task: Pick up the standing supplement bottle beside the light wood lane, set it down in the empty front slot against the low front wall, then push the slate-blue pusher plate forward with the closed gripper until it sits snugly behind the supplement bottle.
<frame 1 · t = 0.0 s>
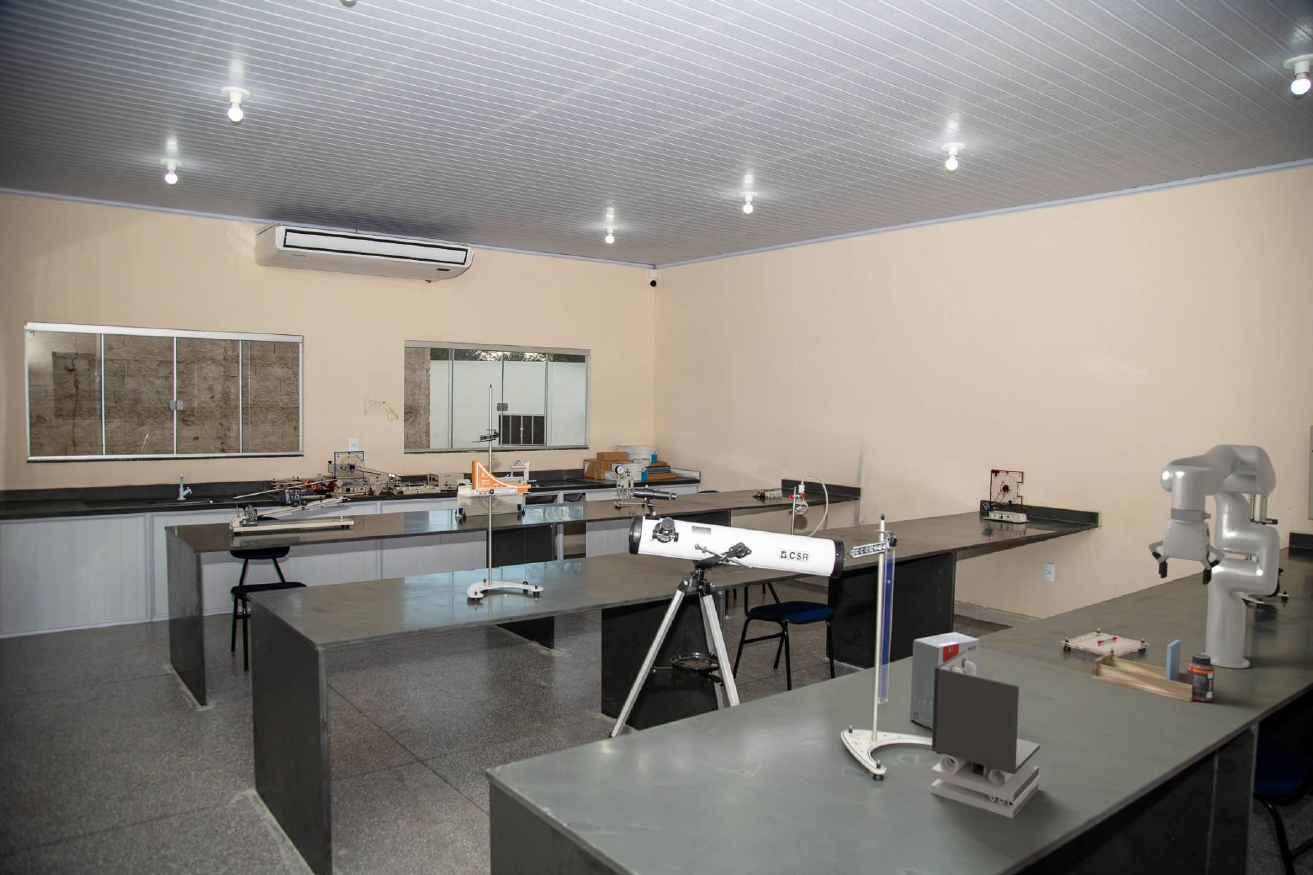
hand: (1184, 580, 220), 31 cm above the table, tool pointing down, fingers open, 9 cm apart
hard drive box: (942, 720, 204), on the table
lane tray: (1147, 684, 232), on the table
supplement bottle: (1199, 698, 221), on the table, touching lane tray
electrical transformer: (985, 791, 168), on the table
pusher plate: (1172, 664, 227), point 7 cm above the table, slide at 0.0 cm
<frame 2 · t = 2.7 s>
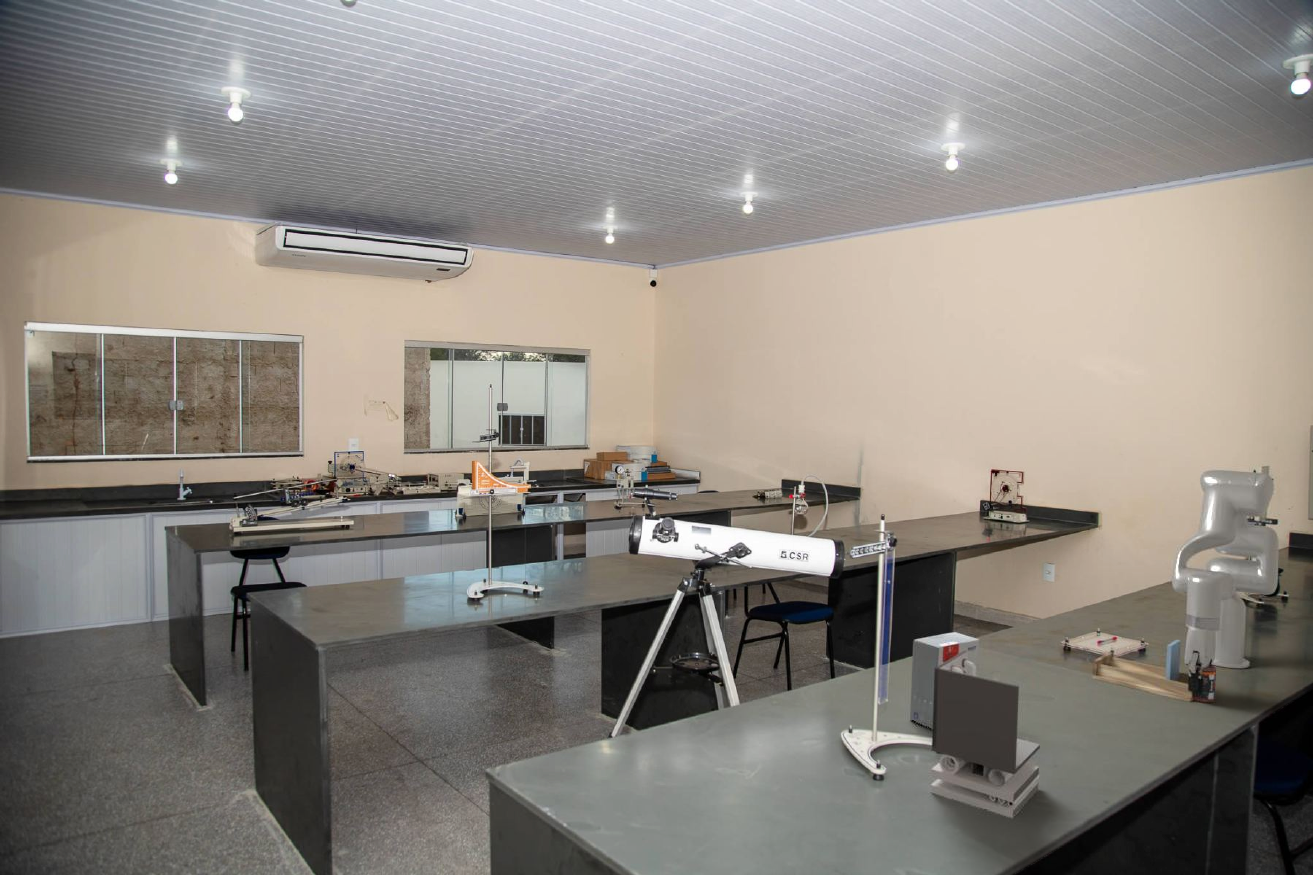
hand: (1199, 688, 221), 3 cm above the table, tool pointing down, fingers open, 7 cm apart
supplement bottle: (1201, 699, 221), on the table, touching lane tray
everything else where it was.
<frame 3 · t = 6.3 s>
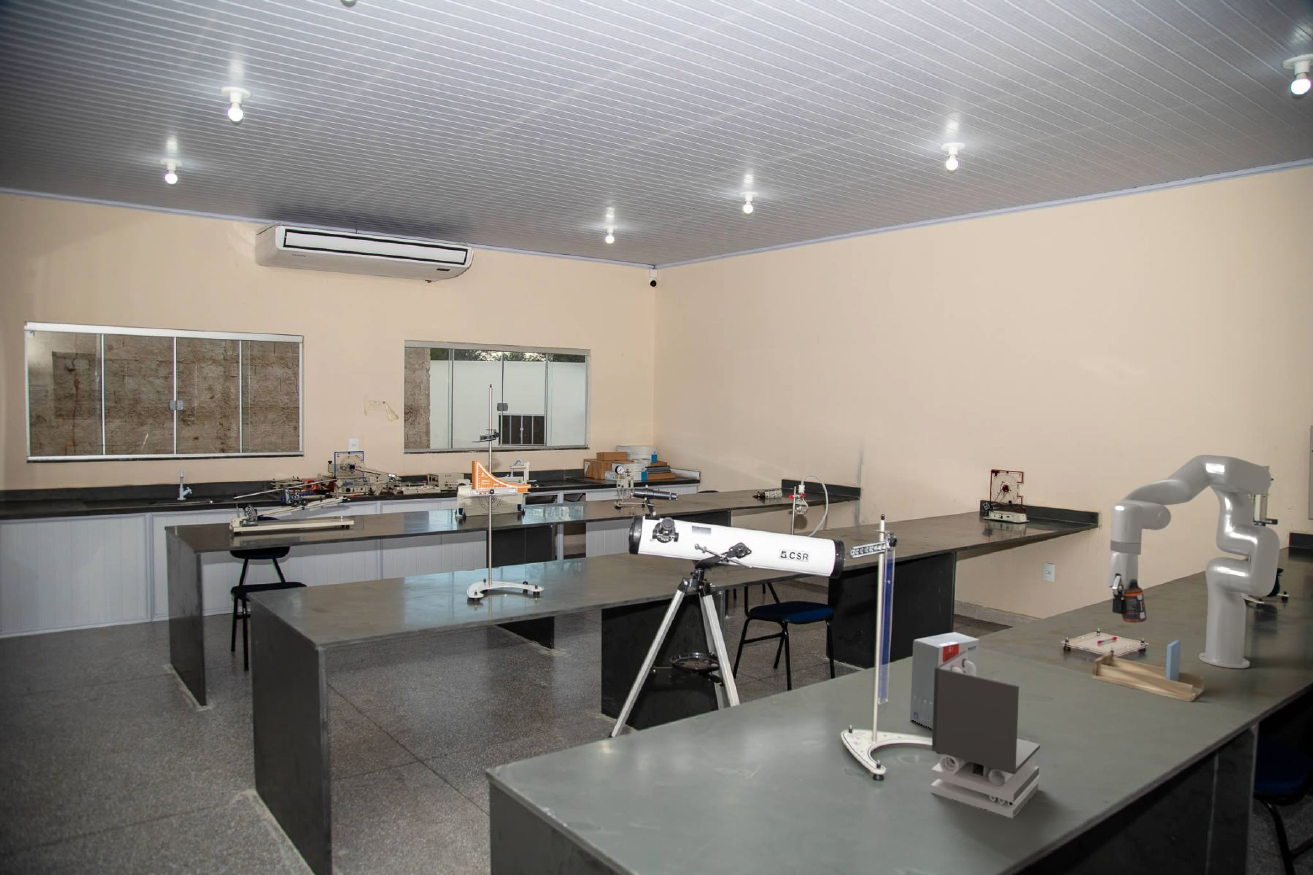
hand: (1122, 610, 236), 19 cm above the table, tool pointing down, fingers closed on supplement bottle, 5 cm apart
supplement bottle: (1134, 621, 234), point 17 cm above the table, touching gripper
everything else where it was.
when the fingers open (5 cm above the table, at t = 9.3 s): supplement bottle drops 2 cm, resting on lane tray.
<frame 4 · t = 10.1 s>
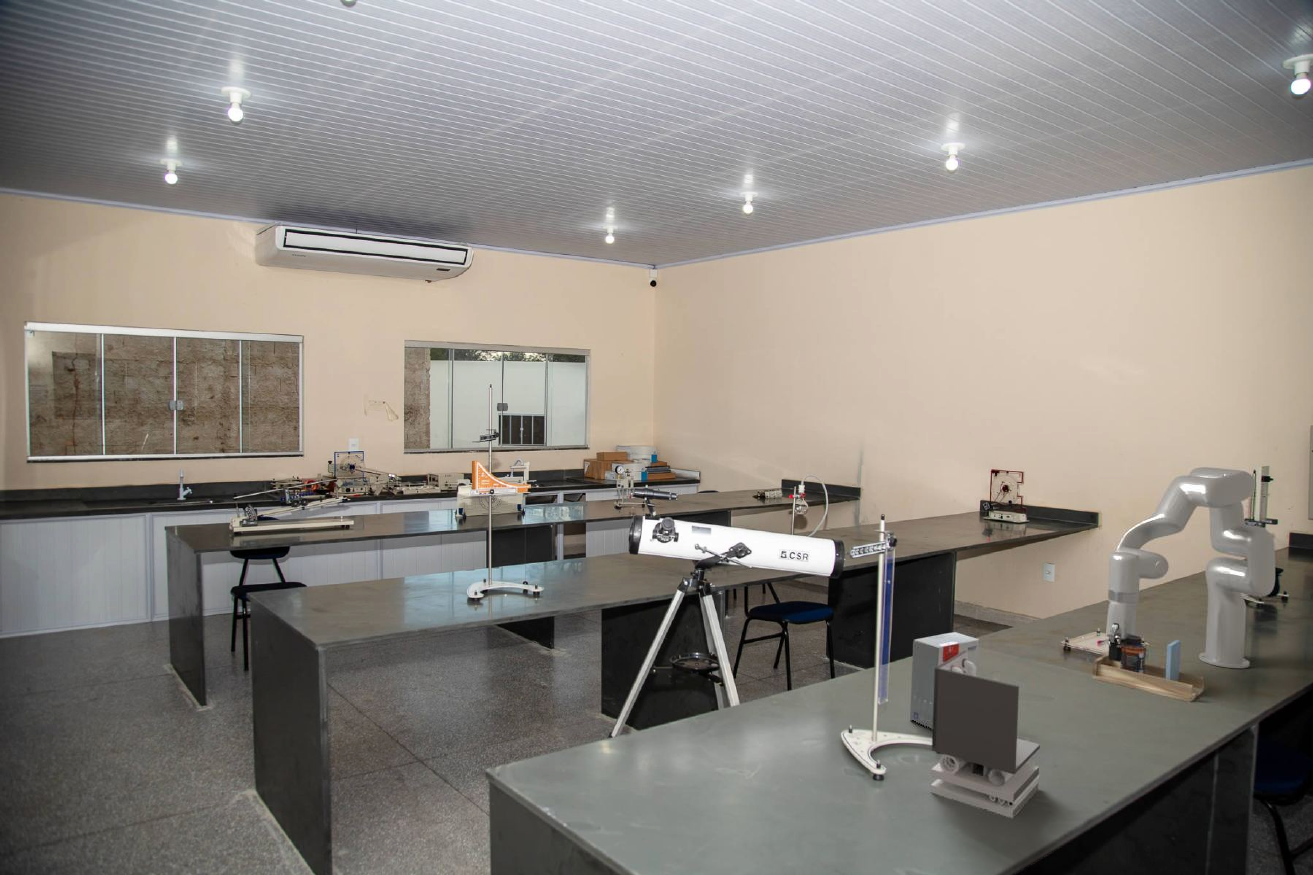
hand: (1121, 656, 237), 6 cm above the table, tool pointing down, fingers open, 9 cm apart
supplement bottle: (1132, 677, 235), point 1 cm above the table, touching lane tray
everything else where it was.
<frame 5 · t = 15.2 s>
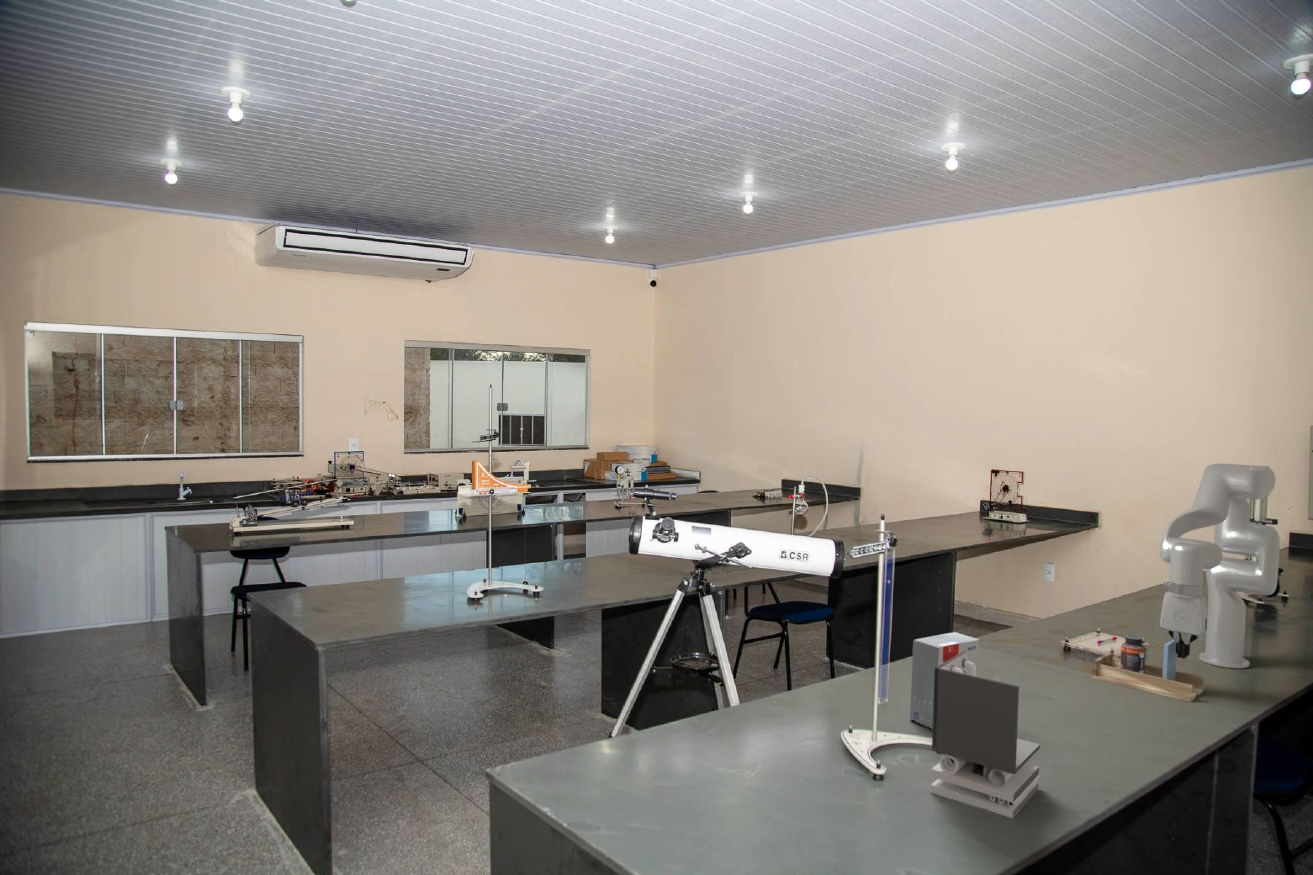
hand: (1182, 656, 226), 10 cm above the table, tool pointing down, fingers closed
pusher plate: (1169, 663, 228), point 7 cm above the table, slide at 0.8 cm, touching gripper
everything else where it was.
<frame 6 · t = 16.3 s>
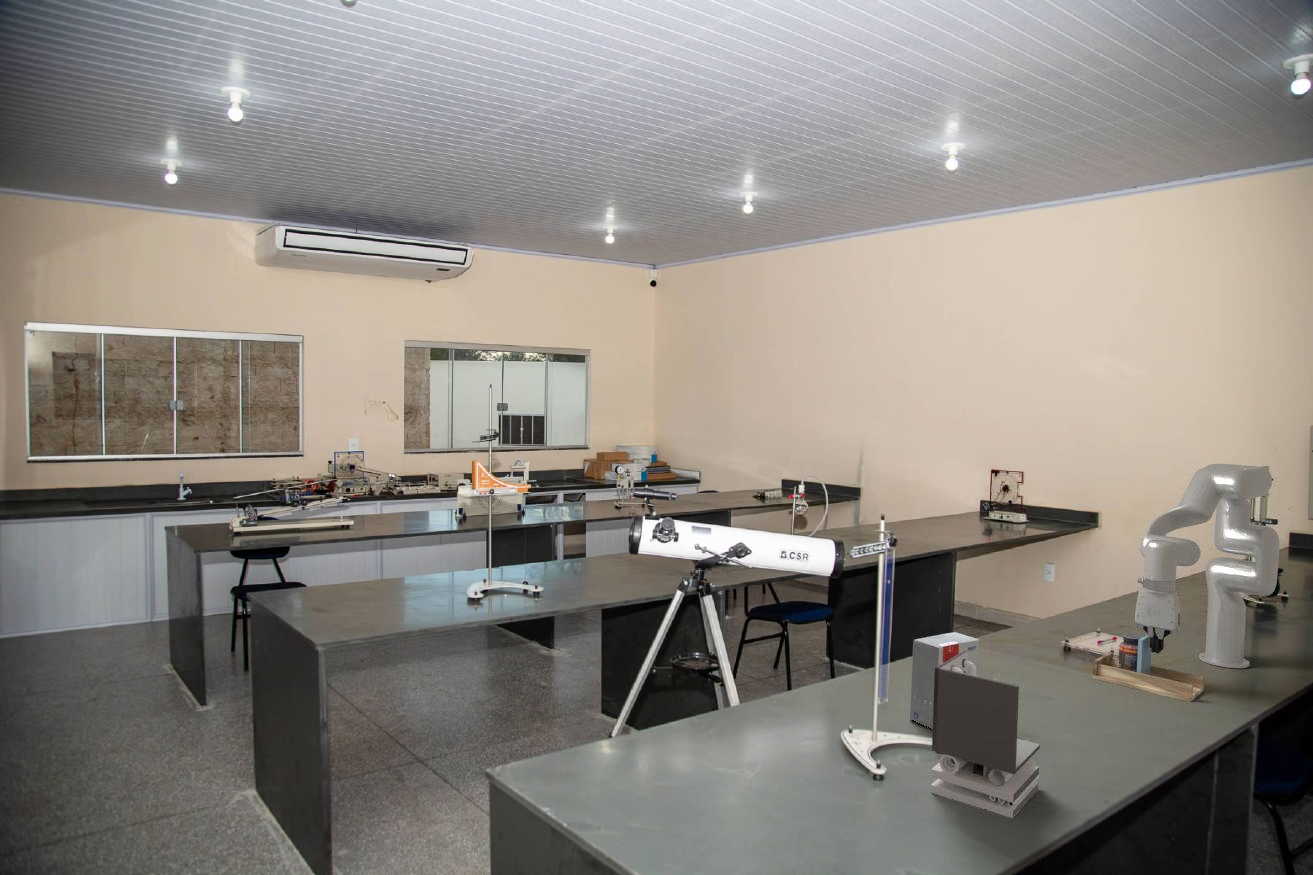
hand: (1156, 651, 230), 10 cm above the table, tool pointing down, fingers closed
pusher plate: (1144, 658, 232), point 7 cm above the table, slide at 7.0 cm, touching gripper
everything else where it was.
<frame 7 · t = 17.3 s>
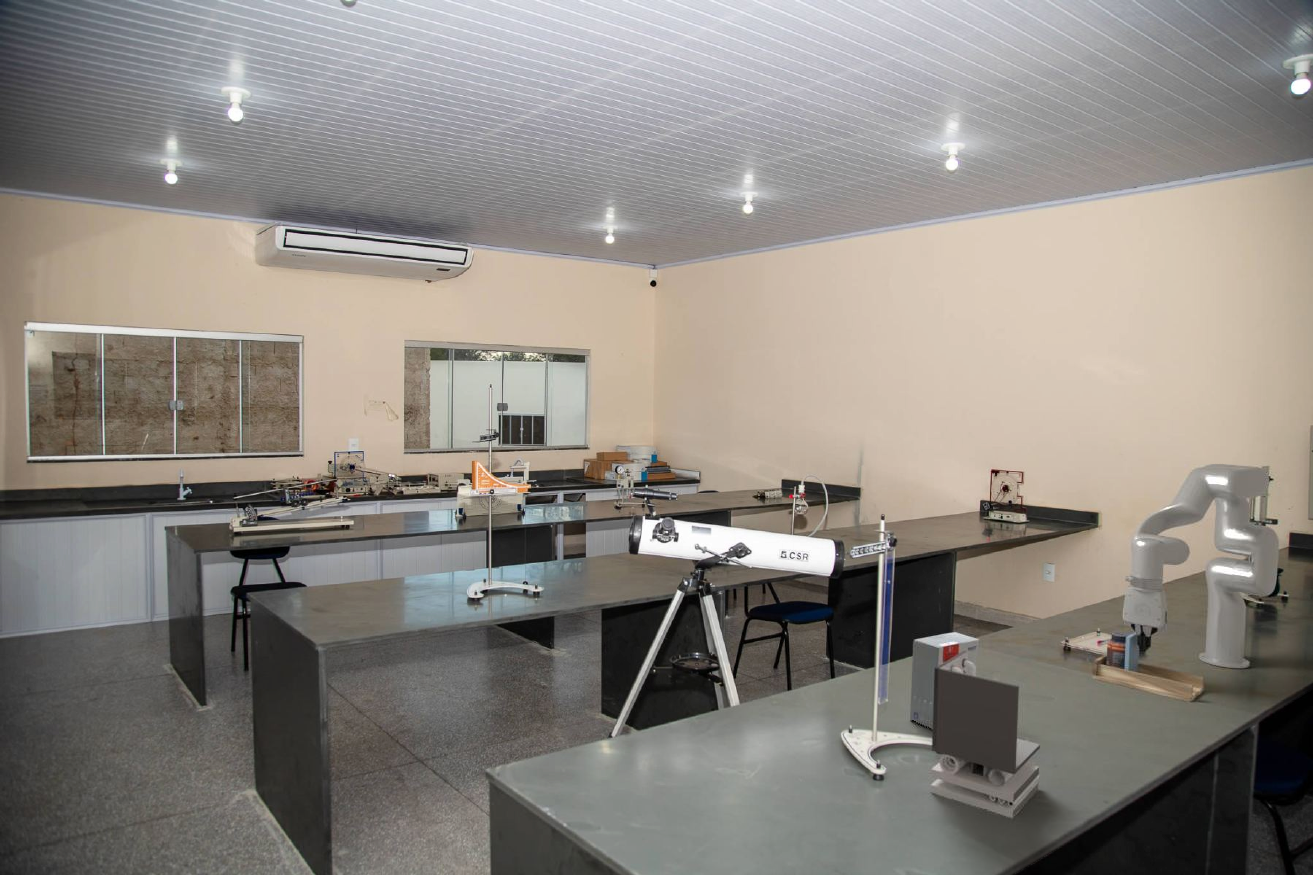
hand: (1143, 648, 232), 10 cm above the table, tool pointing down, fingers closed
supplement bottle: (1118, 674, 238), point 1 cm above the table, touching lane tray, pusher plate
pusher plate: (1131, 655, 235), point 7 cm above the table, slide at 10.1 cm, touching supplement bottle, gripper
everything else where it was.
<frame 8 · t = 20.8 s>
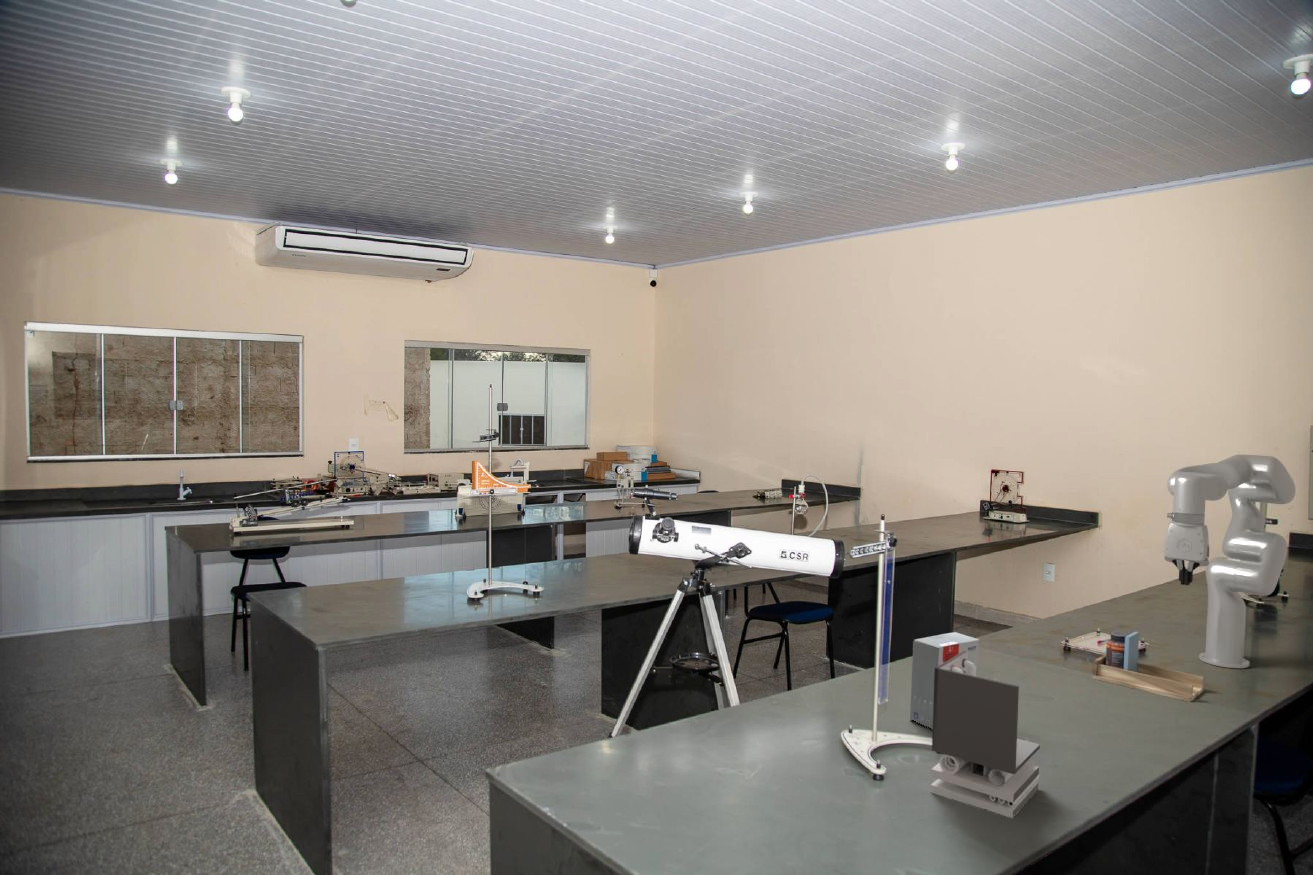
hand: (1185, 584, 235), 27 cm above the table, tool pointing down, fingers closed
supplement bottle: (1117, 674, 238), point 1 cm above the table, touching lane tray
pusher plate: (1131, 655, 235), point 7 cm above the table, slide at 10.3 cm
everything else where it was.
at the end: supplement bottle inside the target area (1.1 cm from its centre), point 0.8 cm above the table; supplement bottle tilted 0°; pusher plate slide at 10.3 cm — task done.
